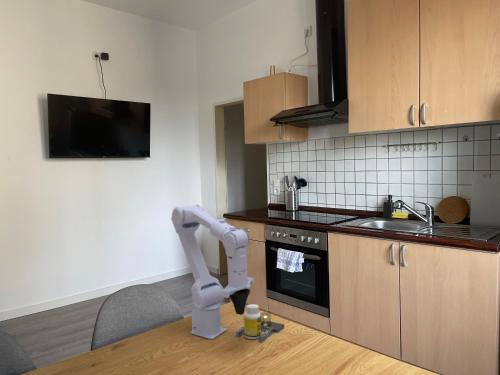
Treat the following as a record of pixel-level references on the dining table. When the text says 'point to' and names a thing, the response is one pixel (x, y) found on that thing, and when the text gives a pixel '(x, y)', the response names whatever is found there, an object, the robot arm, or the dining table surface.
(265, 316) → the grey flat branched piece
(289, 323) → the dining table surface
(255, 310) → the supplement bottle
